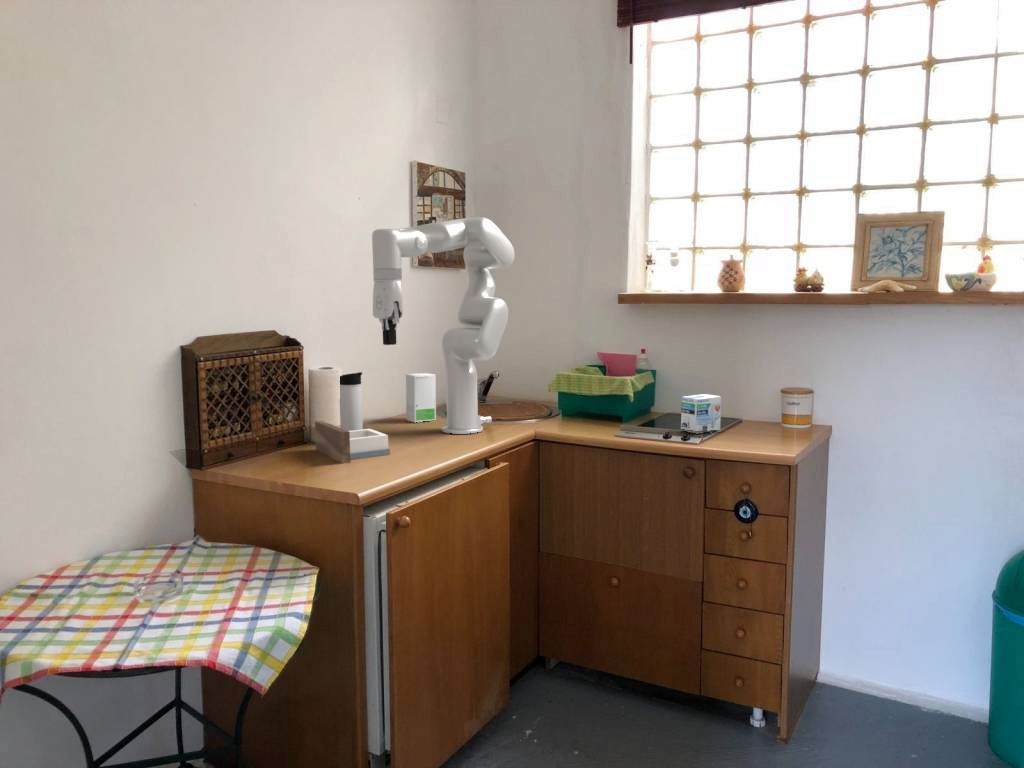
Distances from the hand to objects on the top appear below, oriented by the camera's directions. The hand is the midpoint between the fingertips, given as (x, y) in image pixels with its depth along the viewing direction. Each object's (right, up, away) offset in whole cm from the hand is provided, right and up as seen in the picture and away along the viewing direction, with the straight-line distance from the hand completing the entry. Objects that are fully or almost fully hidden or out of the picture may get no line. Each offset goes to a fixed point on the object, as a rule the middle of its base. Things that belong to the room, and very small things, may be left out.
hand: (389, 344), depth 215 cm
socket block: (-8, -29, -2) cm, 30 cm away
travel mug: (-13, -27, +14) cm, 33 cm away
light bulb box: (+90, -25, +26) cm, 97 cm away
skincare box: (+3, -23, +48) cm, 53 cm away
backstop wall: (-14, -30, -6) cm, 33 cm away
